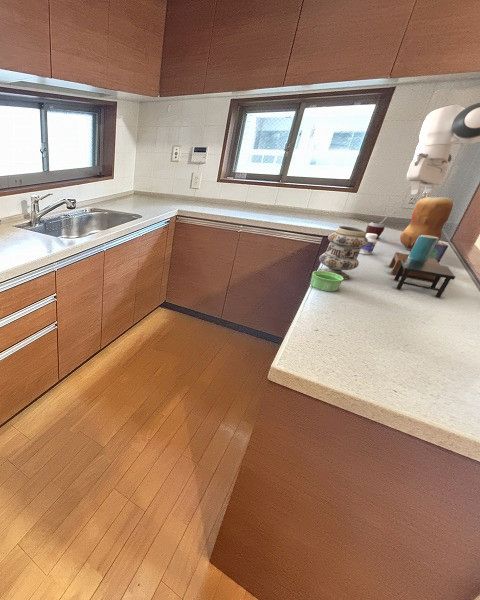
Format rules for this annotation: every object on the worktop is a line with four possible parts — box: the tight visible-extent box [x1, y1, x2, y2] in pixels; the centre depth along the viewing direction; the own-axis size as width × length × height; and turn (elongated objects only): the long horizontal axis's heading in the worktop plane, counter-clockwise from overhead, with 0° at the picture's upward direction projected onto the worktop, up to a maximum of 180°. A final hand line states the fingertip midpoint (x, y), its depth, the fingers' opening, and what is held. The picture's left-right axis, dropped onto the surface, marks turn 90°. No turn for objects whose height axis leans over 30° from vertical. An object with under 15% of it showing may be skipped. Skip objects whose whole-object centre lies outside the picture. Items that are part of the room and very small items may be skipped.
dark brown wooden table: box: [393, 259, 456, 299], centre depth 113 cm, size 12×12×8 cm
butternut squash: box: [399, 196, 454, 251], centre depth 150 cm, size 14×13×25 cm
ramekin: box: [310, 270, 345, 292], centre depth 113 cm, size 9×9×4 cm
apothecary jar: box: [317, 225, 368, 280], centre depth 121 cm, size 12×12×18 cm
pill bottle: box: [359, 233, 378, 255], centre depth 149 cm, size 5×5×9 cm
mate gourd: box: [365, 211, 397, 240], centre depth 171 cm, size 8×8×15 cm
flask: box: [429, 241, 449, 264], centre depth 137 cm, size 9×3×11 cm, turn 58°
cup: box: [408, 235, 439, 262], centre depth 123 cm, size 5×5×9 cm
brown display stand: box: [388, 252, 441, 283], centre depth 126 cm, size 12×12×6 cm
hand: (420, 195), depth 121 cm, fingers open, 8 cm apart
